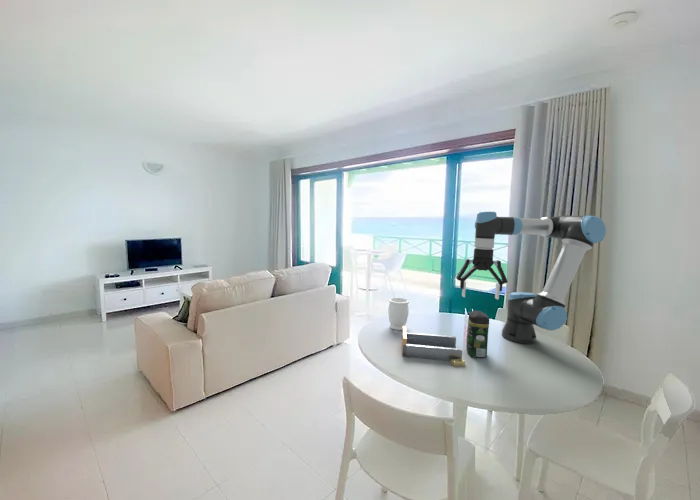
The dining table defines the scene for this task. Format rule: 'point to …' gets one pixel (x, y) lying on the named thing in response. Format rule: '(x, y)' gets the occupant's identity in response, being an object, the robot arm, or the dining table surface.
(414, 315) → the dining table surface
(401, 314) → the jar
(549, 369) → the dining table surface
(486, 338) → the coffee jar
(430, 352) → the channel
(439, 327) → the dining table surface
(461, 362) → the brass key block
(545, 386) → the dining table surface
